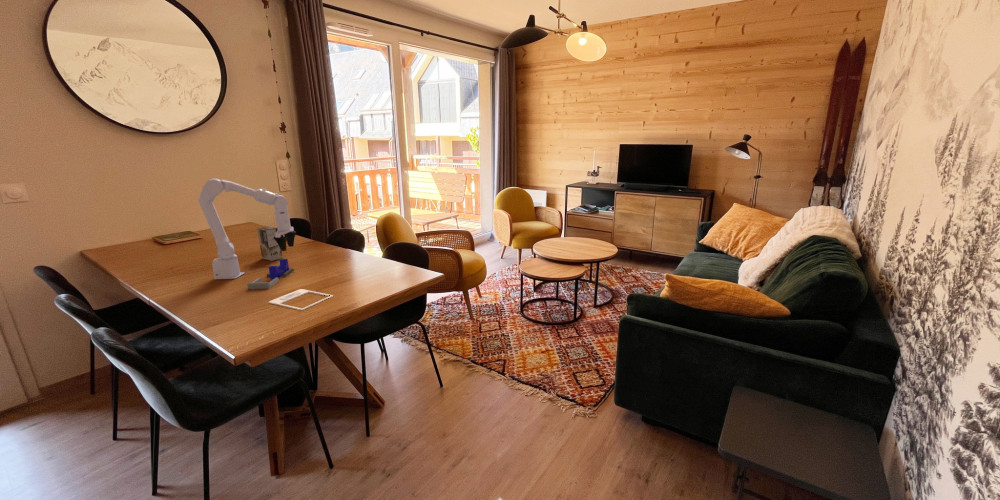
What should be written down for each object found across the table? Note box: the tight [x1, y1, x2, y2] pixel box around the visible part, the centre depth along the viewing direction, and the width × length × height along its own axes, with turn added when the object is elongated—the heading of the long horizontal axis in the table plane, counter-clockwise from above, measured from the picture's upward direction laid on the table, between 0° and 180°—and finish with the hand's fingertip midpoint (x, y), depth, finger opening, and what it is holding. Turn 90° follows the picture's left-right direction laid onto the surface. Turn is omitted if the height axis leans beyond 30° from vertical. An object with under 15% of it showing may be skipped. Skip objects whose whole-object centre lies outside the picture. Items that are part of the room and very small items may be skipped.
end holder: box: [246, 277, 280, 290], centre depth 171 cm, size 8×9×2 cm
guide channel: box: [266, 268, 294, 278], centre depth 186 cm, size 8×8×1 cm
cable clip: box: [268, 258, 290, 280], centre depth 184 cm, size 12×4×6 cm, turn 3°
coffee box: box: [256, 226, 284, 262], centre depth 208 cm, size 9×6×16 cm
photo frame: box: [267, 288, 334, 312], centre depth 155 cm, size 15×1×18 cm
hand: (287, 248), depth 193 cm, fingers open, 7 cm apart
